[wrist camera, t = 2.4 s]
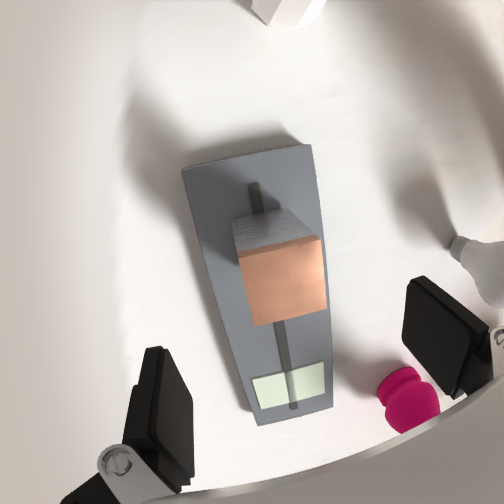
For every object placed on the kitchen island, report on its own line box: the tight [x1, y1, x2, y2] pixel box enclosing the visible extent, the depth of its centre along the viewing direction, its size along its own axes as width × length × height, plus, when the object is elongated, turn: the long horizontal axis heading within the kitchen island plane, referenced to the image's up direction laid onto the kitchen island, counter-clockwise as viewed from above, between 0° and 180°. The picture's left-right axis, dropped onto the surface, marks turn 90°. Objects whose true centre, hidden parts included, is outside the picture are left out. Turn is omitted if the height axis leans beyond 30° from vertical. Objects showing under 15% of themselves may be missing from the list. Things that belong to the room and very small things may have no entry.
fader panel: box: [182, 144, 333, 426], centre depth 25 cm, size 9×28×2 cm, turn 11°
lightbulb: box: [450, 236, 504, 309], centre depth 21 cm, size 6×6×11 cm
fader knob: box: [231, 208, 327, 327], centre depth 18 cm, size 4×4×7 cm
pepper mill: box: [377, 367, 441, 434], centre depth 24 cm, size 7×7×20 cm
